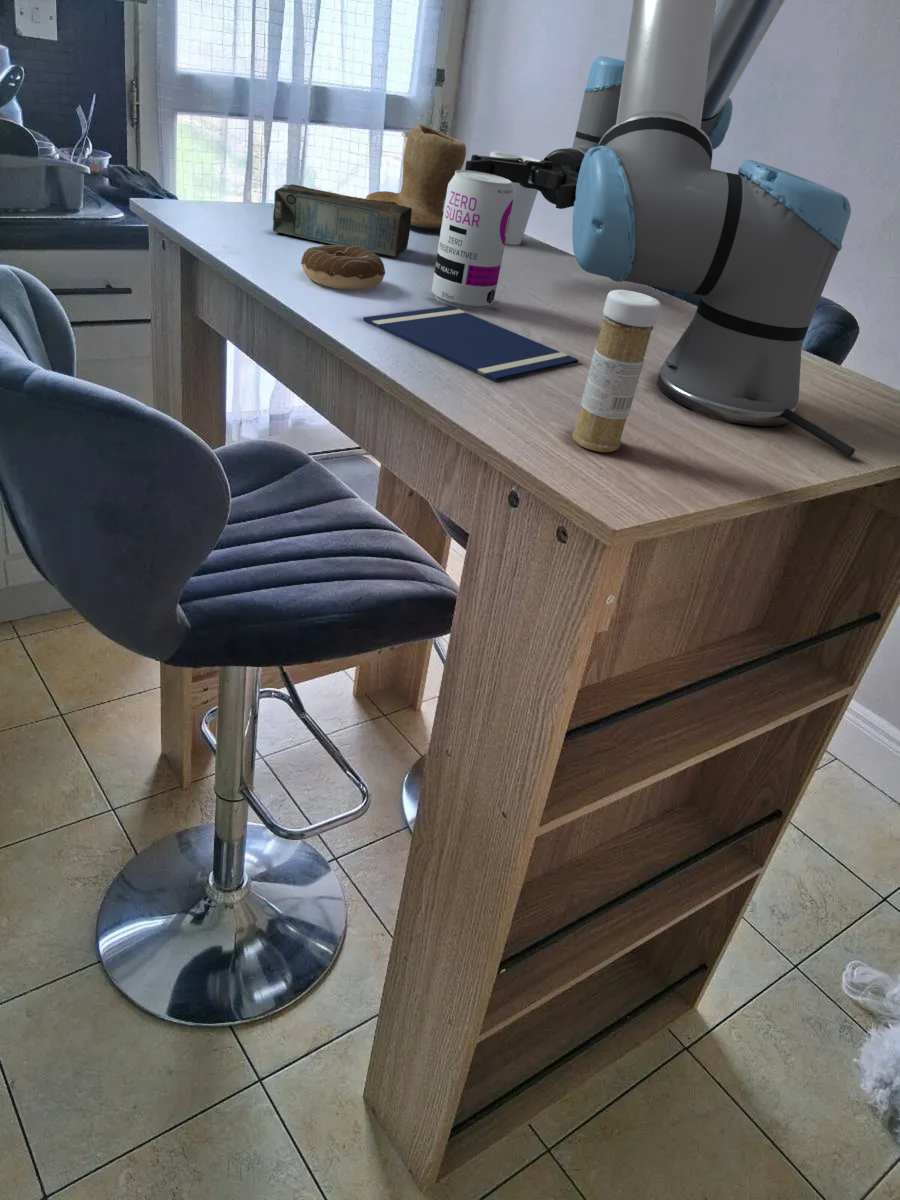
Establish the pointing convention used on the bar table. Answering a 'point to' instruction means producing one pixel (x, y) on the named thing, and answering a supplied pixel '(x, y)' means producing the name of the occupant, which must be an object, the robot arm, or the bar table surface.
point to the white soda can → (472, 239)
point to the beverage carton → (342, 219)
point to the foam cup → (518, 203)
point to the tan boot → (426, 175)
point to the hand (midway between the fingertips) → (512, 184)
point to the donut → (343, 267)
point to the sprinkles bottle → (615, 369)
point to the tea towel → (472, 342)
